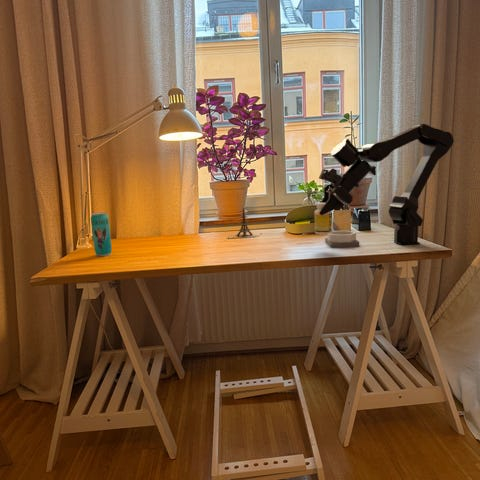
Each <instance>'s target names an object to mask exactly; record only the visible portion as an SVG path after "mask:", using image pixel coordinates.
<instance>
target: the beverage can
mask: <svg viewBox="0 0 480 480" xmlns="http://www.w3.org/2000/svg"><path fill="white" fill-rule="evenodd" d="M90 215H91V216H90V223H91V232H92V240H93V248H94V252H95V255H96V256H97V257H109V256H110V255H112V250H113V249H112V239H111V230H110V222H109V220H110V219H109V216H108V215H107V212H103V211H102V212H94V213H91V214H90Z"/></svg>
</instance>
